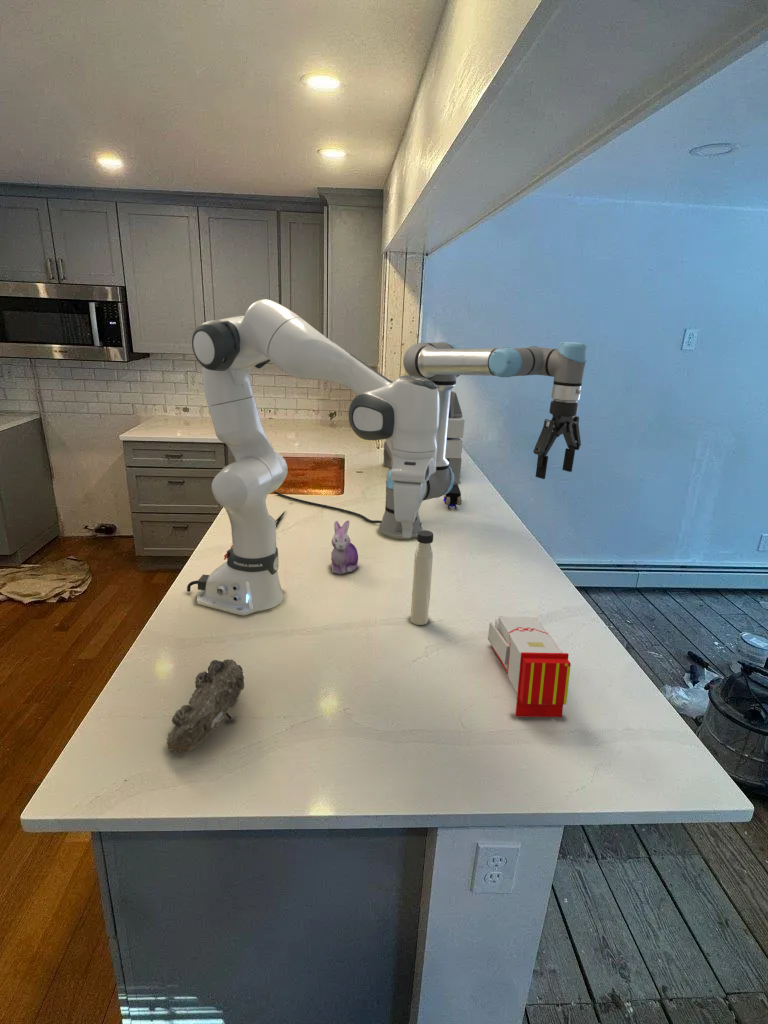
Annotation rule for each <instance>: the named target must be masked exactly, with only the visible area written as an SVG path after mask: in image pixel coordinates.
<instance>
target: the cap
mask: <svg viewBox="0 0 768 1024" xmlns="http://www.w3.org/2000/svg"><path fill="white" fill-rule="evenodd" d="M416 540H417V542H418V543H424V544H429V543H430V544H432V543H433V542H434V532H433V531H431V530H426V529H424V530H423V529H422V531H419V532H418V534H417V538H416Z"/></svg>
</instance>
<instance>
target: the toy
mask: <svg viewBox="0 0 768 1024" xmlns="http://www.w3.org/2000/svg"><path fill="white" fill-rule="evenodd" d="M488 625H489V627H488V633H487V641H488V642H489V644H490V646H491V647H490V648H491V649H492V650H493V652H494V654H495V656H496V658H497V659H498V660H499V662H500V664H501V666H502V668H503V669H504V671H505V673H506V674H507V676H508V678H509V680H510V682H511V685H512V686H513V689H514V690H515V693H516V704H515V717H516V718H517V717H518V718H519V717H520V718H521V717H522V718H563V710H564V705H567V701H568V692H569V685H570V684H569V683H570V676H571V675H570V674H571V666H572V664H571V661H570V660H569V655H570V654H569V653H568V652H563V651H562V649H561V648H560V647H559V646H558V644H557V643H556V642H555V640H554V639H553V638H552V636H551V635H550V634H549V632H548V631H547V629H546V628H545V627H544V626H543V624H542V622H541V621H540V620H539V619H538V618H537V616H498V618H496V619H494V623H493V622H489V624H488Z"/></svg>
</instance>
